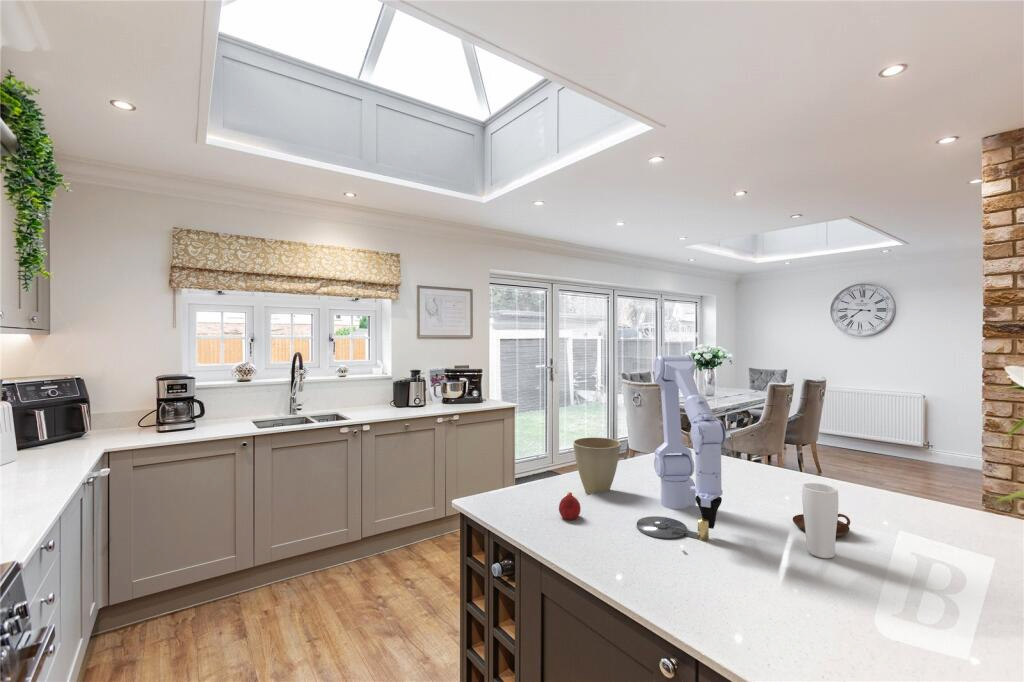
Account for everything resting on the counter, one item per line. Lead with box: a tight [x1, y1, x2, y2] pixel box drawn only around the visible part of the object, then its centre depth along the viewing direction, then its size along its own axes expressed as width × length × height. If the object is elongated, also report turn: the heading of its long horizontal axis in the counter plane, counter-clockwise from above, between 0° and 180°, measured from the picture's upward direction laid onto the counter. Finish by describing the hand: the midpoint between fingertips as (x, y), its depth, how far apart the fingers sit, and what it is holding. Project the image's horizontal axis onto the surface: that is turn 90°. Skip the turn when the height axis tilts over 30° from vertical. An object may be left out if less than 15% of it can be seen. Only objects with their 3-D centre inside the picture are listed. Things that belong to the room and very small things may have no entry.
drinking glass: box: [801, 482, 839, 559], centre depth 105 cm, size 7×7×15 cm
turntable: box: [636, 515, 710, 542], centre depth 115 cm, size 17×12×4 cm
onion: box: [558, 491, 582, 521], centre depth 125 cm, size 6×6×8 cm
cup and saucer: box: [792, 512, 851, 537], centre depth 118 cm, size 12×12×6 cm
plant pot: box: [572, 436, 621, 495], centre depth 149 cm, size 15×15×16 cm
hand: (709, 527), depth 112 cm, fingers closed
